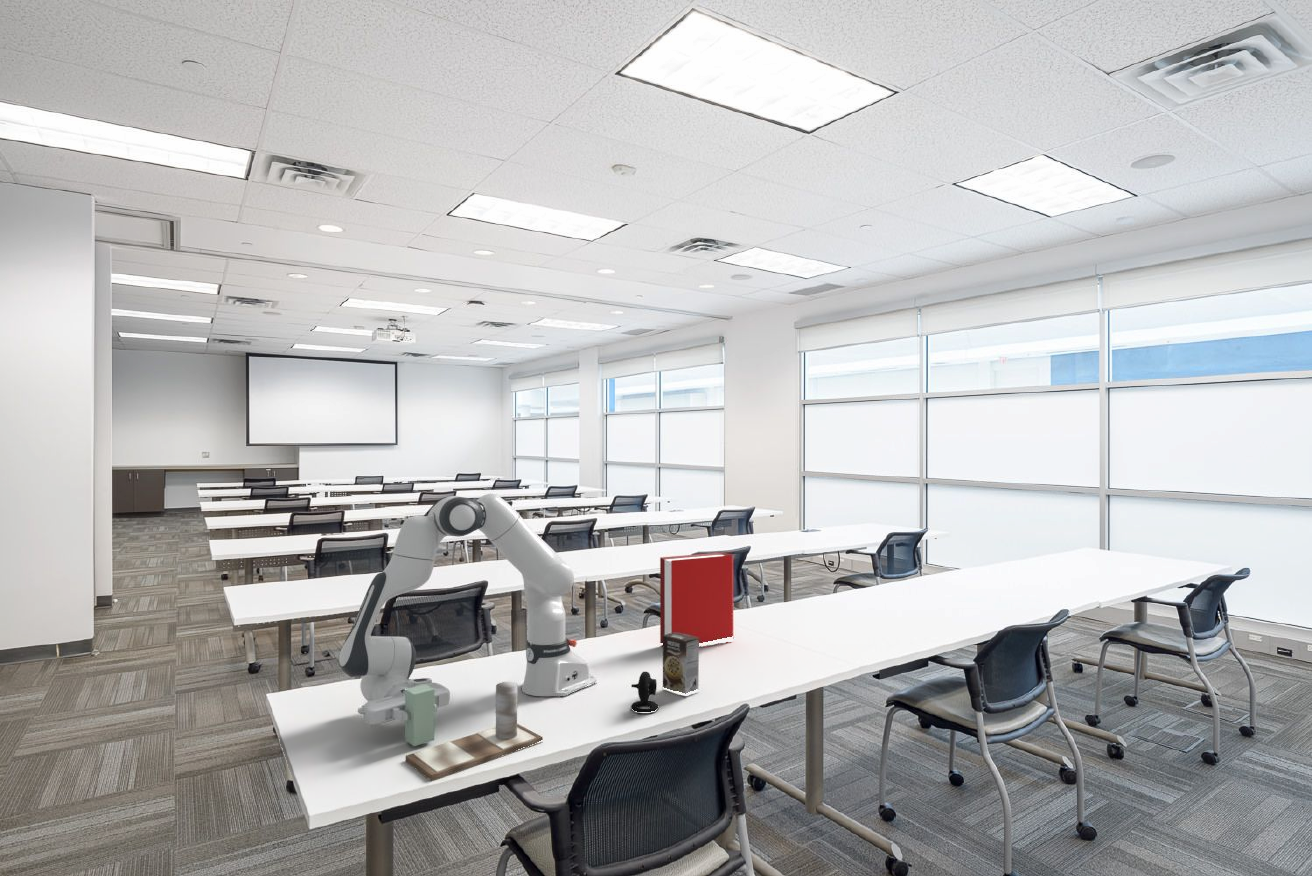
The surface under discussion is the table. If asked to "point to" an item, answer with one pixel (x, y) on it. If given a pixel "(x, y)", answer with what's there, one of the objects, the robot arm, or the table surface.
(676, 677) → the coffee box
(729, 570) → the book
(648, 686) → the webcam
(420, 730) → the sage green tall pillar
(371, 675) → the robot arm
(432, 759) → the board
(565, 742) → the table surface
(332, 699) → the table surface
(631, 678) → the table surface
